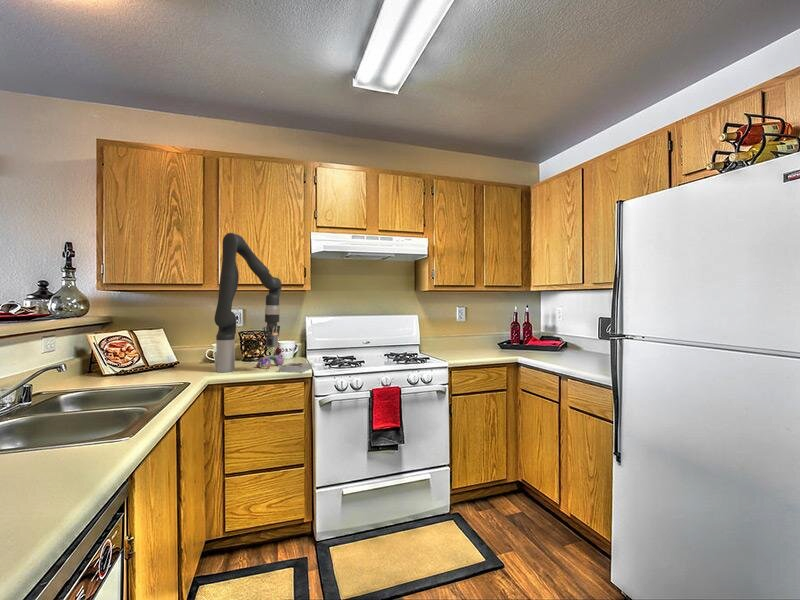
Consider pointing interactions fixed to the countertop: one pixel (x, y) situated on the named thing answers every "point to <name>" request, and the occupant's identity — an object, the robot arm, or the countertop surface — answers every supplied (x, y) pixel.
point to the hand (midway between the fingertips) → (271, 345)
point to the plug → (273, 340)
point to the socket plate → (295, 367)
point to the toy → (276, 358)
